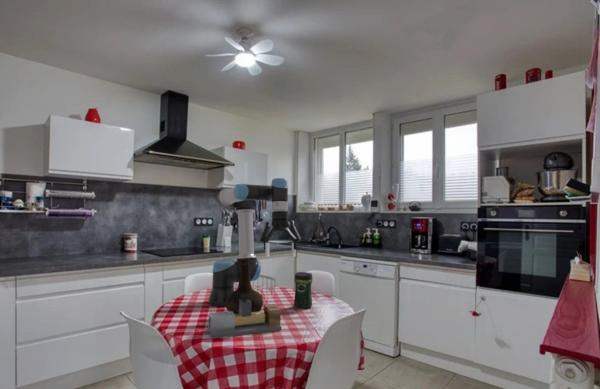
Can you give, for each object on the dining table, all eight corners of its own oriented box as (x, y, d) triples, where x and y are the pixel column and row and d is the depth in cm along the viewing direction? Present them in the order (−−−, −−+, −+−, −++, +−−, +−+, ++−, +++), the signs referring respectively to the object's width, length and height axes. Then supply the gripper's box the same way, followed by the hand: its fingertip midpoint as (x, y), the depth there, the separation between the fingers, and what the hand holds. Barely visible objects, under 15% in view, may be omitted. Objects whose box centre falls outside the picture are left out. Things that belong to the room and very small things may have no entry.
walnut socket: (263, 320, 156) (264, 304, 157) (274, 319, 158) (274, 303, 159) (269, 326, 148) (270, 310, 148) (280, 325, 150) (280, 309, 150)
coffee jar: (313, 305, 187) (314, 272, 188) (308, 309, 180) (309, 274, 180) (297, 303, 190) (298, 270, 191) (291, 307, 183) (292, 272, 184)
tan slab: (214, 323, 146) (215, 300, 147) (261, 319, 154) (262, 297, 155) (216, 328, 141) (217, 304, 141) (265, 323, 149) (266, 300, 149)
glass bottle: (268, 313, 172) (270, 257, 173) (251, 324, 155) (253, 262, 156) (237, 308, 178) (239, 255, 179) (218, 318, 161) (220, 259, 162)
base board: (207, 328, 148) (207, 324, 148) (272, 321, 160) (273, 318, 160) (211, 338, 137) (211, 334, 137) (281, 330, 148) (281, 326, 149)
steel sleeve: (208, 327, 145) (209, 312, 146) (231, 324, 149) (232, 310, 149) (210, 332, 140) (210, 317, 140) (234, 329, 144) (235, 315, 144)
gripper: (252, 211, 161) (252, 257, 158) (301, 209, 151) (302, 257, 149) (260, 212, 168) (260, 256, 165) (307, 210, 158) (308, 256, 156)
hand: (280, 256), depth 157 cm, fingers open, 13 cm apart
